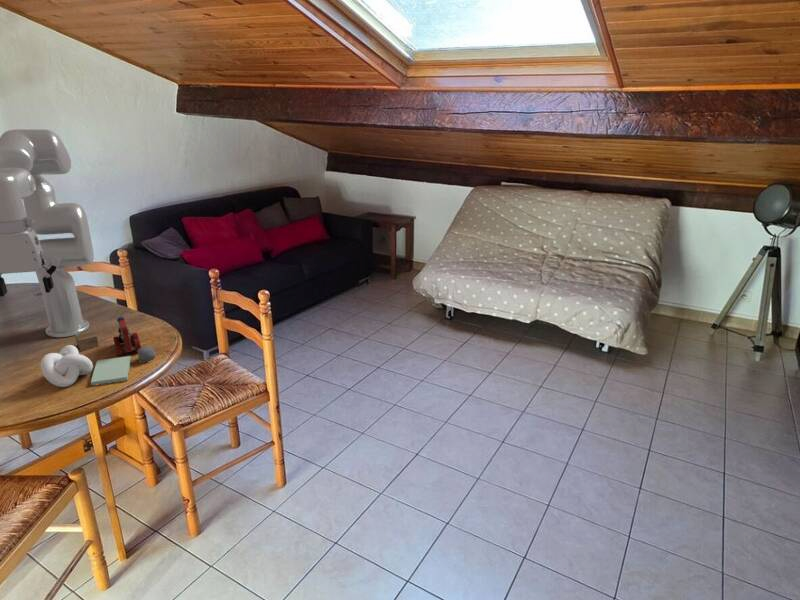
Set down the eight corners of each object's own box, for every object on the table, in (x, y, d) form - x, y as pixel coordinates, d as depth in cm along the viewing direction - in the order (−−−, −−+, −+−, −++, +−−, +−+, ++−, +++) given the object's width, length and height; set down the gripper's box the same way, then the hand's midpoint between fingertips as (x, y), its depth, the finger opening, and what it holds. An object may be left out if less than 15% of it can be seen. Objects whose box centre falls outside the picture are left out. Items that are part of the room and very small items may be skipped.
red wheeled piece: (137, 339, 169) (132, 310, 165) (142, 355, 159) (137, 325, 155) (114, 343, 166) (108, 314, 162) (117, 360, 156) (111, 329, 152)
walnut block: (77, 345, 164) (74, 334, 162) (95, 341, 167) (92, 330, 165) (81, 351, 160) (78, 340, 159) (98, 347, 163) (96, 336, 162)
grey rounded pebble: (139, 357, 158) (138, 347, 157) (155, 355, 160) (153, 345, 158) (138, 364, 154) (136, 353, 153) (154, 362, 156) (153, 351, 154)
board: (98, 363, 153) (97, 360, 153) (131, 359, 157) (130, 355, 156) (91, 385, 142) (90, 382, 142) (127, 380, 145) (126, 377, 145)
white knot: (39, 377, 145) (31, 350, 142) (86, 364, 153) (80, 337, 150) (49, 394, 138) (41, 365, 135) (98, 378, 146) (92, 351, 142)
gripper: (55, 220, 128) (69, 284, 134) (-29, 224, 122) (-10, 290, 129) (47, 228, 121) (63, 294, 128) (-42, 232, 115) (-21, 301, 122)
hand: (26, 292), depth 128 cm, fingers open, 9 cm apart
